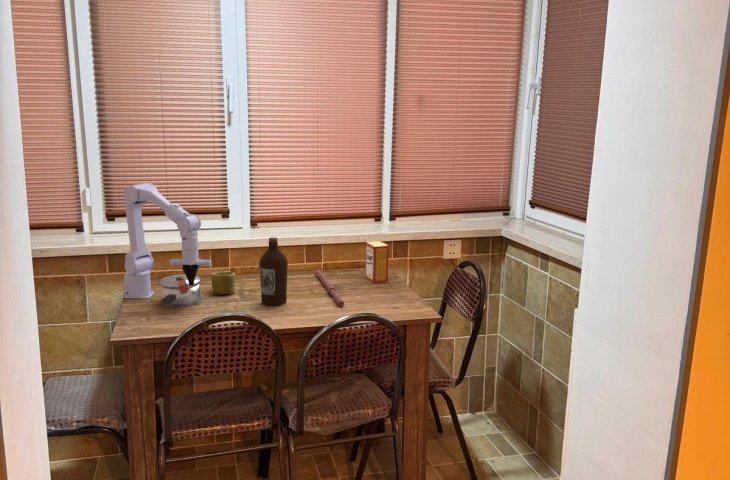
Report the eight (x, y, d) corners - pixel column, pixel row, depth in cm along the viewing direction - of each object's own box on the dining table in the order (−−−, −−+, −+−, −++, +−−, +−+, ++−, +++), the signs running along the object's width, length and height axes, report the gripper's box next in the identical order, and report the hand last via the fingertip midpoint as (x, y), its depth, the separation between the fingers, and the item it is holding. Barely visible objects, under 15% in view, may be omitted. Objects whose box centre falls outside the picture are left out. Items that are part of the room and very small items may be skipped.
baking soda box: (364, 276, 281) (365, 241, 277) (378, 275, 283) (379, 240, 279) (373, 282, 272) (374, 246, 268) (387, 281, 275) (388, 244, 271)
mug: (232, 293, 248) (226, 268, 249) (209, 299, 251) (203, 274, 251) (246, 290, 260) (240, 266, 260) (224, 296, 263) (218, 272, 263)
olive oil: (271, 296, 252) (270, 233, 246) (293, 300, 247) (293, 237, 241) (254, 303, 243) (252, 239, 237) (276, 308, 238) (275, 242, 232)
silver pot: (172, 294, 252) (171, 277, 250) (206, 296, 250) (205, 279, 248) (147, 311, 233) (146, 292, 231) (184, 313, 230) (183, 295, 229)
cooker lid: (158, 279, 246) (158, 271, 246) (198, 275, 252) (197, 268, 251) (162, 295, 227) (162, 287, 227) (204, 291, 233) (204, 283, 232)
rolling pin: (345, 307, 241) (345, 299, 240) (337, 308, 240) (337, 300, 239) (321, 275, 283) (321, 268, 283) (314, 275, 282) (314, 268, 282)
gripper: (212, 246, 237) (213, 281, 240) (172, 245, 236) (174, 281, 239) (208, 250, 230) (209, 287, 233) (167, 250, 229) (169, 287, 232)
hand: (191, 284), depth 235 cm, fingers closed
